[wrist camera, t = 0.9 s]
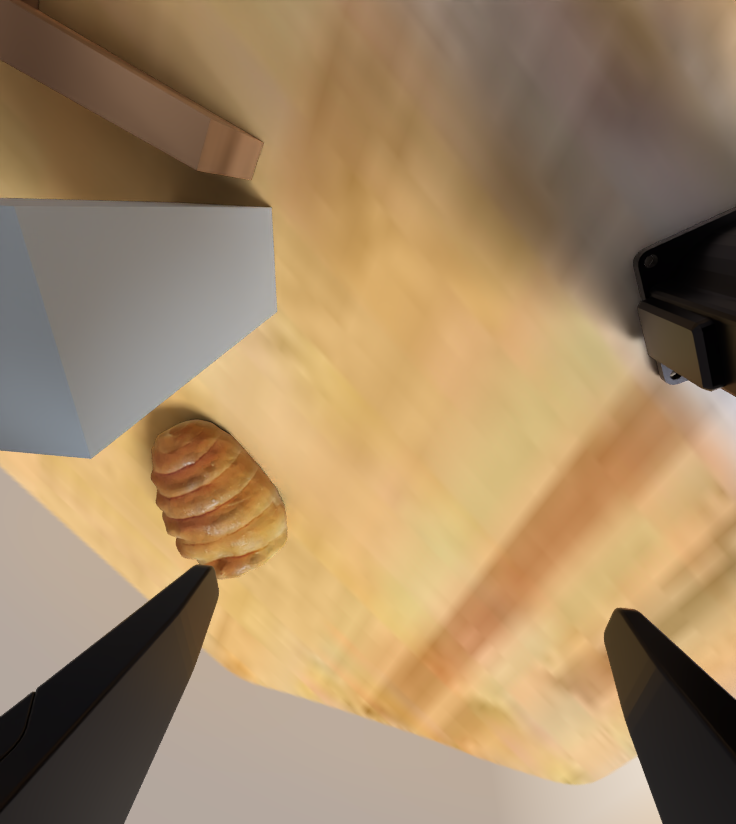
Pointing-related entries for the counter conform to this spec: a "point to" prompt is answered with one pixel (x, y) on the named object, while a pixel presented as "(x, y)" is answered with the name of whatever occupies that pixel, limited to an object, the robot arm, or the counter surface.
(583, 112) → the counter surface
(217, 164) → the brown wooden tray
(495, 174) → the counter surface
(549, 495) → the counter surface
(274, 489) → the pastry
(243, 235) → the block
